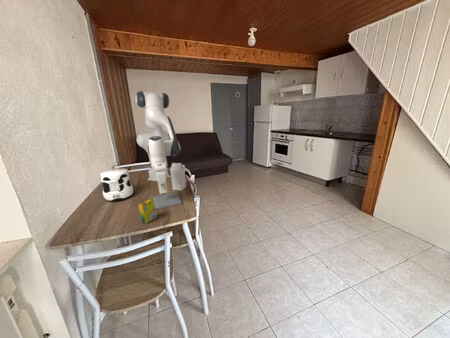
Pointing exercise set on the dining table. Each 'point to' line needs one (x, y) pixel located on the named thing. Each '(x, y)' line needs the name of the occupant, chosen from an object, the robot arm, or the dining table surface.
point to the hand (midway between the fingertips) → (162, 187)
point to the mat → (166, 200)
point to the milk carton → (178, 176)
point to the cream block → (162, 189)
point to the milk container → (116, 184)
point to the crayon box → (147, 210)
